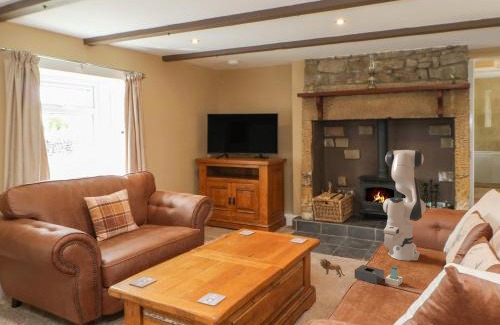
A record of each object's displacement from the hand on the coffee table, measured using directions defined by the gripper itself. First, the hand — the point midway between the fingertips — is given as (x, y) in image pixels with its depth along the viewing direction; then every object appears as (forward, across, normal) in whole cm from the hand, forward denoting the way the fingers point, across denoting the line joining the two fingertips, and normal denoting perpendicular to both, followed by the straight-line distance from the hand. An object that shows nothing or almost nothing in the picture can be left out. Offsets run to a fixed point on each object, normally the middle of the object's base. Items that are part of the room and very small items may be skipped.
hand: (394, 252), depth 215 cm
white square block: (+17, 0, 0) cm, 17 cm away
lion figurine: (+18, +11, -32) cm, 39 cm away
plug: (+17, 0, 0) cm, 17 cm away
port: (+17, +2, -13) cm, 22 cm away
